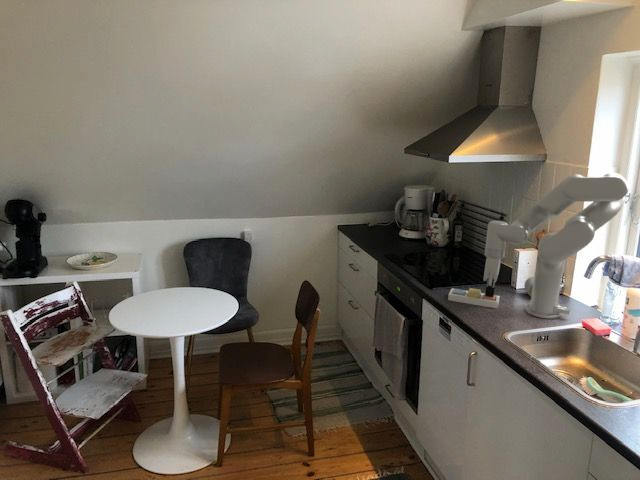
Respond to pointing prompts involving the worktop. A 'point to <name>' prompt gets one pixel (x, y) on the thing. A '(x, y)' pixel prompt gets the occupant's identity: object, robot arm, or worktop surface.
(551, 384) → the worktop surface
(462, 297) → the panel
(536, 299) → the robot arm
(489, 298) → the terracotta button
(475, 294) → the mustard button
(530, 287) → the ceramic mug
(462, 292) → the slate button
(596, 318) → the worktop surface
